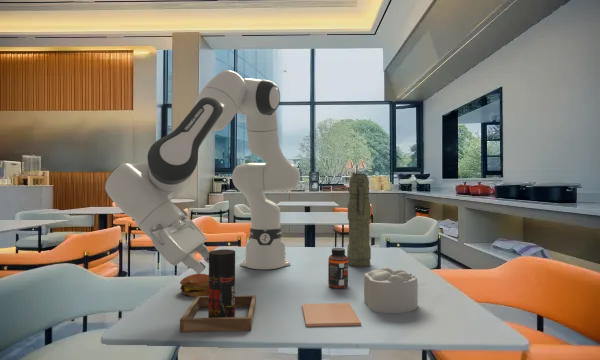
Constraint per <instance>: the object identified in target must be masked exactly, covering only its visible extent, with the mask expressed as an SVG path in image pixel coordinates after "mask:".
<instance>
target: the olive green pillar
mask: <svg viewBox="0 0 600 360" xmlns="http://www.w3.org/2000/svg"><path fill="white" fill-rule="evenodd" d="M348 190H349V191H348V193H349V198H348V199H349V200H348V202H347V220H348V245H347V252H346V253H347V254H346V256H347V257H348V266H351V267H354V268H355V267H356V268H367V267H370V266H371V259H372V252H371V251H372V249H371V245H370V221H371V215H372V213H371V211H372V210H371V209H372V207H371V202H370V198H369V194H370V180H369V177H368V175H367V174H366V173H353V174H351V175H350V178H349V182H348Z"/></svg>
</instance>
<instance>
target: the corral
mask: <svg viewBox="0 0 600 360" xmlns="http://www.w3.org/2000/svg"><path fill="white" fill-rule="evenodd" d="M256 305H257V295H251V294H250V295H245V294H244V295H235V308H241V307H242V308H243V307H244V308H245V307H249V311H248V315H247V316H235V317H223V318H208V317H195V315H197V313H198V311H199V309H200V308H208V306H209V295H206V296H197V297H195V299H194V300H193V302H192V303H191V304H190V306H189V307H188V308H187V310H185V312H184V313H183V315H182V316H181V318H180V319H179V332H180V333H193V332H194V333H195V332H196V333H197V332H199V333H200V332H235V331H237V332H239V331H240V332H241V331H242V332H243V331H244V332H245V331H252V327H253V323H254V316H255V311H256V307H257V306H256Z"/></svg>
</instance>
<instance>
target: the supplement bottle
mask: <svg viewBox="0 0 600 360" xmlns="http://www.w3.org/2000/svg"><path fill="white" fill-rule="evenodd" d="M327 260H328V266H327V268H328V277H327V279H328V280H327V283H328V286H329V287H330V288H332V289H339V290H341V289H345V288H347V287H348V286H349V265H348V257H347V255H346V248H343V247H332V248H331V255H329V256H328V259H327Z"/></svg>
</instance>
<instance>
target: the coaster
mask: <svg viewBox="0 0 600 360" xmlns="http://www.w3.org/2000/svg"><path fill="white" fill-rule="evenodd" d="M302 312H303V317H304V322H305V327H309V328H310V327H340V326H341V327H344V326H345V327H346V326H347V327H349V326H362V322H361V320H360V318H359V316H358V315H357V314H356V312H355V309H354V308H353V307H352V305H351V303H350V302H337V303H335V302H334V303H331V302H329V303H322V302H321V303H302Z"/></svg>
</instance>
